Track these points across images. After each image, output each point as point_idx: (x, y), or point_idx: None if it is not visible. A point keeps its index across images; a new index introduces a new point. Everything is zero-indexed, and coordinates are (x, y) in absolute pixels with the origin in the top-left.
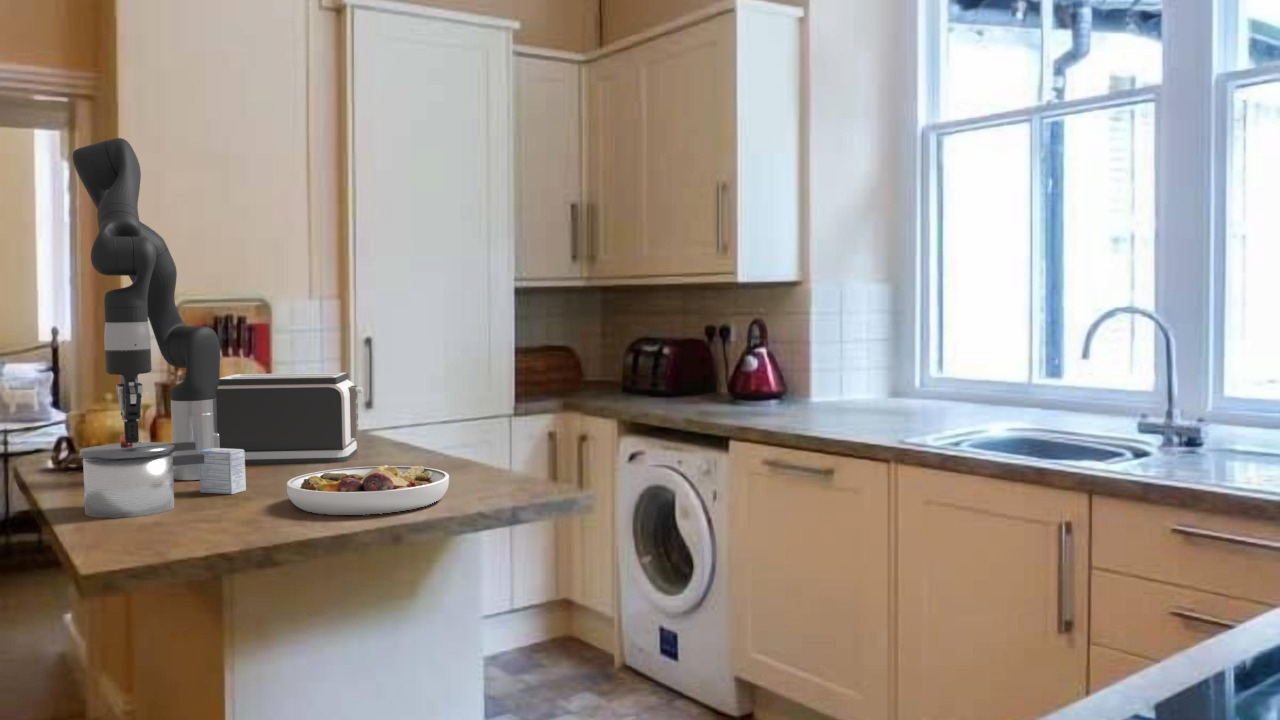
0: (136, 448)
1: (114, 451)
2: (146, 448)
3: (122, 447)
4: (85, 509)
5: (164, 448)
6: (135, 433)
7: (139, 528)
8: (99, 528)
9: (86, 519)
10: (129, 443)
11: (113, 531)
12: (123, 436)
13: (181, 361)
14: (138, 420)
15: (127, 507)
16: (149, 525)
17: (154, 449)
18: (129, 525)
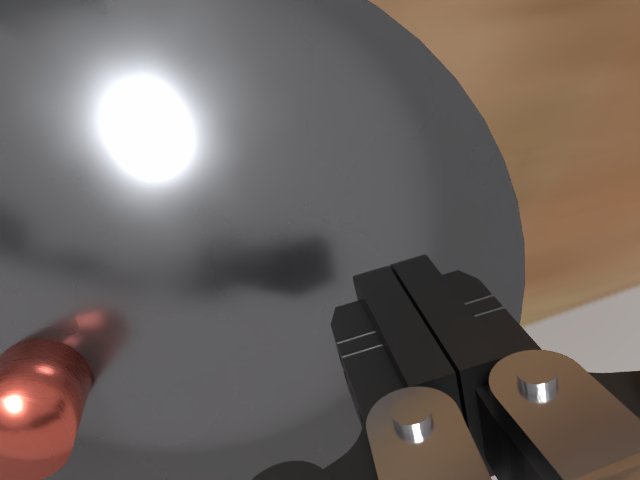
0: (314, 256)
1: None
2: (362, 173)
3: (180, 376)
4: None
5: (383, 11)
6: (493, 305)
7: (631, 59)
8: (555, 210)
9: None
10: (69, 364)
11: (636, 148)
12: (70, 446)
13: None
14: (560, 357)
15: None
16: (591, 26)
17: (461, 91)
18: (551, 110)
